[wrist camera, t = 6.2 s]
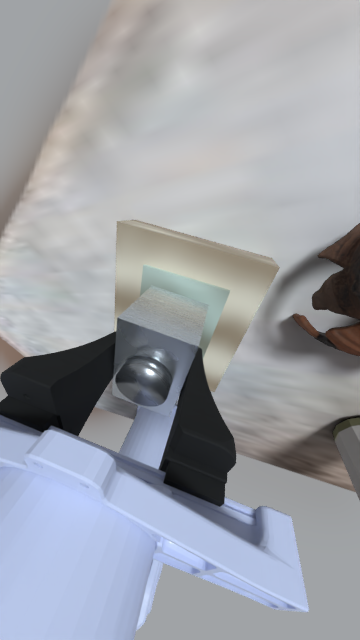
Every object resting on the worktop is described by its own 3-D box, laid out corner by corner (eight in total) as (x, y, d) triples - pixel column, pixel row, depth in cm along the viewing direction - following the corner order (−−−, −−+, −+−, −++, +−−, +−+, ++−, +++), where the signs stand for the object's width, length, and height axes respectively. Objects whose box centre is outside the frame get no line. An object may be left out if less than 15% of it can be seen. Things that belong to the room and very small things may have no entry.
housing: (184, 367, 17) (165, 431, 12) (140, 351, 18) (104, 407, 13) (208, 304, 13) (195, 360, 8) (151, 285, 14) (106, 327, 9)
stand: (216, 372, 22) (214, 394, 20) (126, 340, 24) (112, 357, 21) (271, 258, 15) (280, 268, 12) (135, 219, 16) (114, 221, 13)
